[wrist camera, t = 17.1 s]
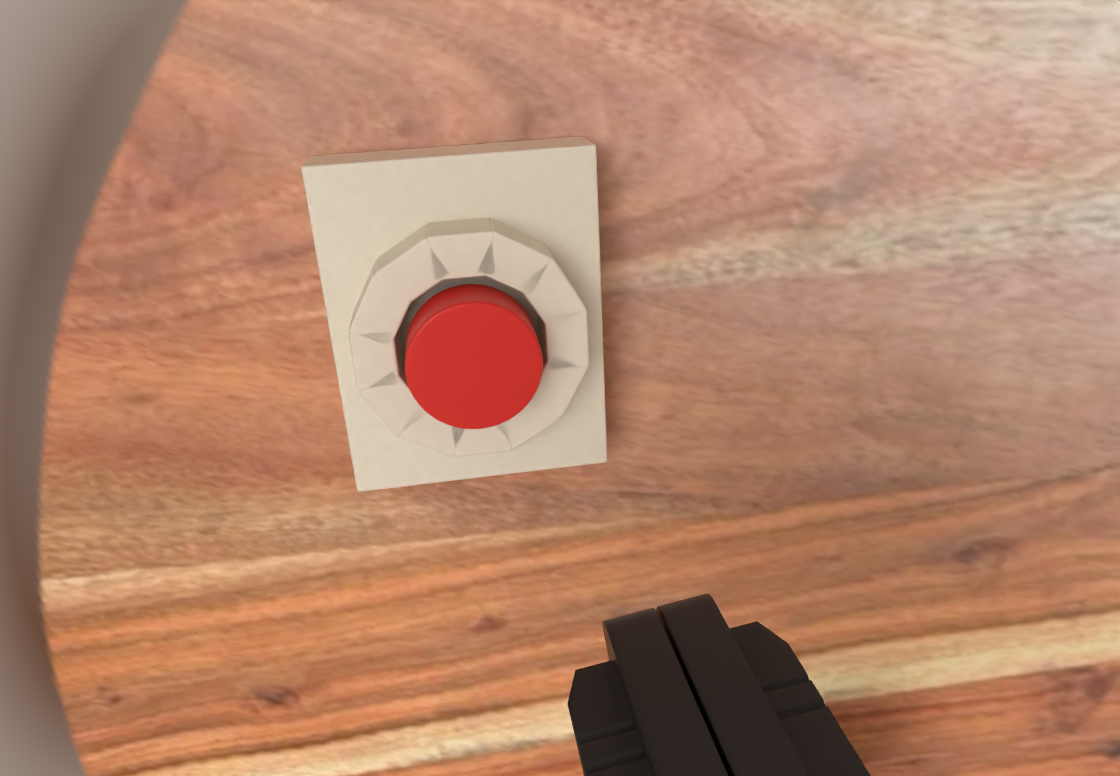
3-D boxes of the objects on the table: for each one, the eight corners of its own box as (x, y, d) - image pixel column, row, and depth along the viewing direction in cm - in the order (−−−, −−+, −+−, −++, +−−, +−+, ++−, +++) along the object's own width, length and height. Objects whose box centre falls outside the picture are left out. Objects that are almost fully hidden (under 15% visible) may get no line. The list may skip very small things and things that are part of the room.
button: (398, 289, 22) (395, 309, 21) (531, 277, 23) (539, 295, 21) (414, 411, 24) (414, 437, 22) (539, 397, 24) (547, 422, 22)
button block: (311, 155, 24) (290, 177, 20) (582, 135, 25) (609, 152, 21) (362, 459, 28) (352, 523, 24) (595, 433, 29) (619, 490, 25)
